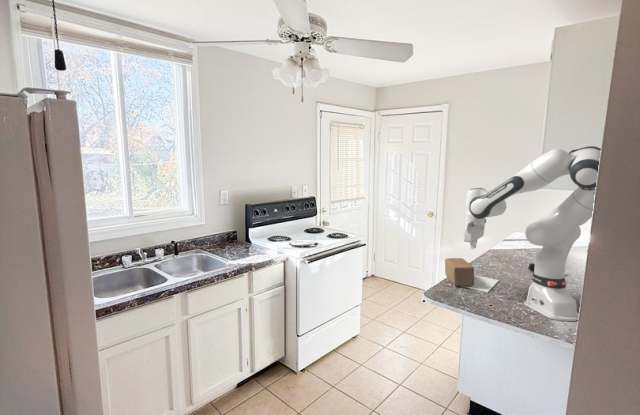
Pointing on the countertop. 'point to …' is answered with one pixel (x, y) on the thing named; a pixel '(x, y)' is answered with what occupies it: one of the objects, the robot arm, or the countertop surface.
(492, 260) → the countertop surface
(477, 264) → the countertop surface
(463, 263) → the wooden block
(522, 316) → the countertop surface
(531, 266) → the can opener
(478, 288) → the mat
